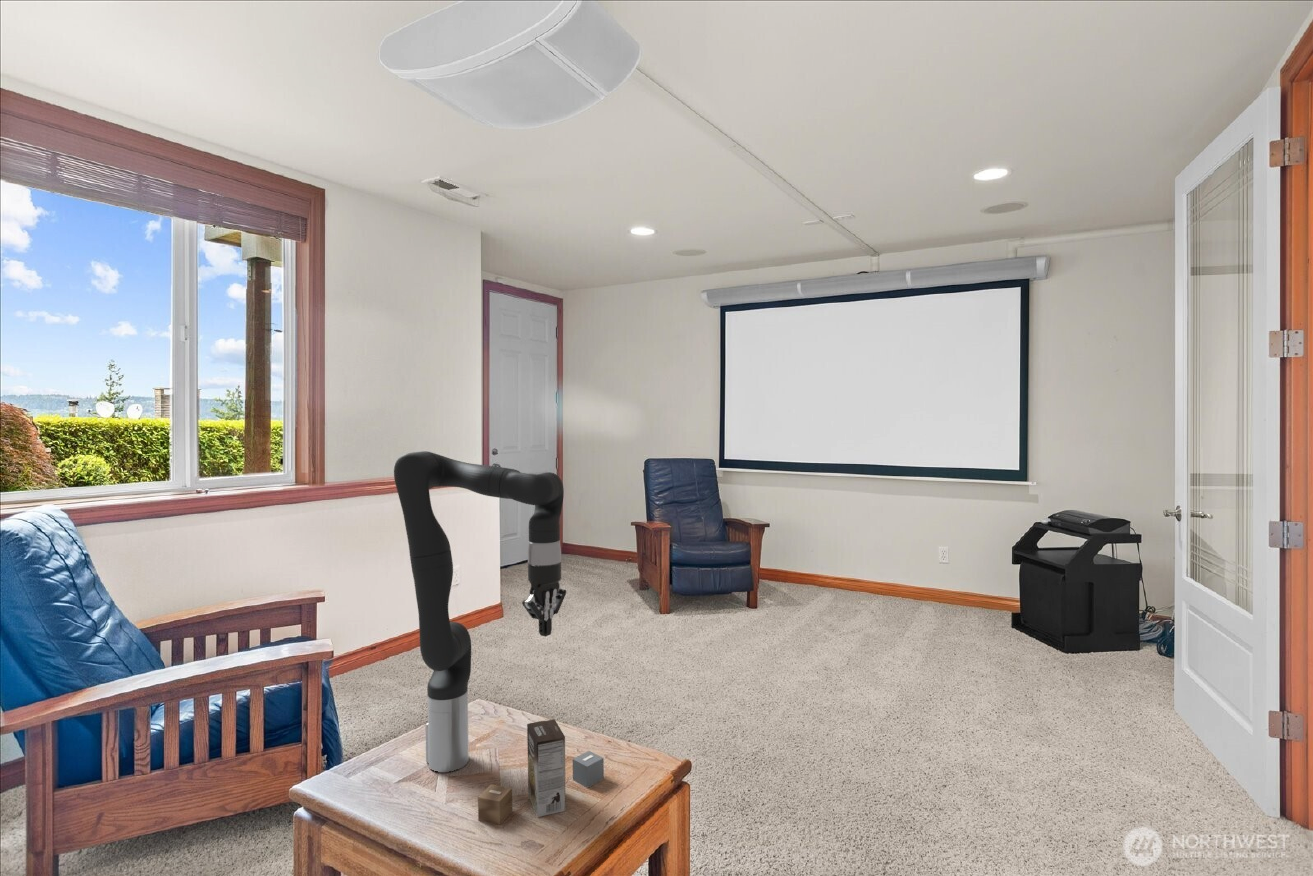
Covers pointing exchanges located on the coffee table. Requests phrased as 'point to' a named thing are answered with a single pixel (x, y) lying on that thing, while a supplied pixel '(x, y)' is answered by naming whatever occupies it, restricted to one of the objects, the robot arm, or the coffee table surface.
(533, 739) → the coffee box
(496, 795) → the walnut block
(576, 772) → the slate block
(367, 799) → the coffee table surface
